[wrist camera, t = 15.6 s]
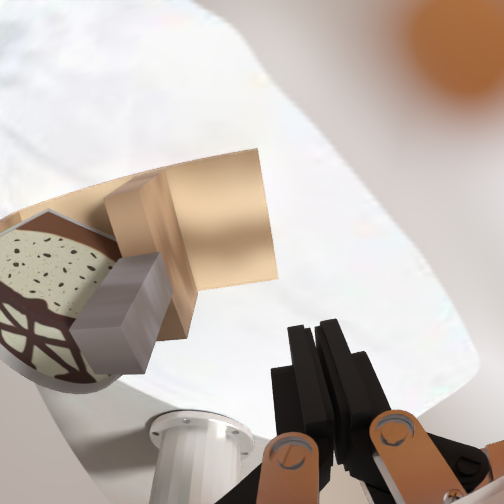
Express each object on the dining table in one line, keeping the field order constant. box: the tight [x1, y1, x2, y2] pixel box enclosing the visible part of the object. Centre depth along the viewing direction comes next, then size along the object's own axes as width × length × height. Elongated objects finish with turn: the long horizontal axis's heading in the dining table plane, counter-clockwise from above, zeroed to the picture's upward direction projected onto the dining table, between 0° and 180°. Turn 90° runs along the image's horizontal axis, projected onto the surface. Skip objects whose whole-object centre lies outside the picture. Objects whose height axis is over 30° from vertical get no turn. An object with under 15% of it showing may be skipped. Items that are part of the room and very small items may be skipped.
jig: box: [0, 148, 278, 291], centre depth 19 cm, size 9×21×6 cm, turn 100°
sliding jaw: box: [69, 169, 198, 375], centre depth 16 cm, size 9×2×11 cm, turn 10°
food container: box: [0, 208, 122, 394], centre depth 17 cm, size 12×6×10 cm, turn 65°
